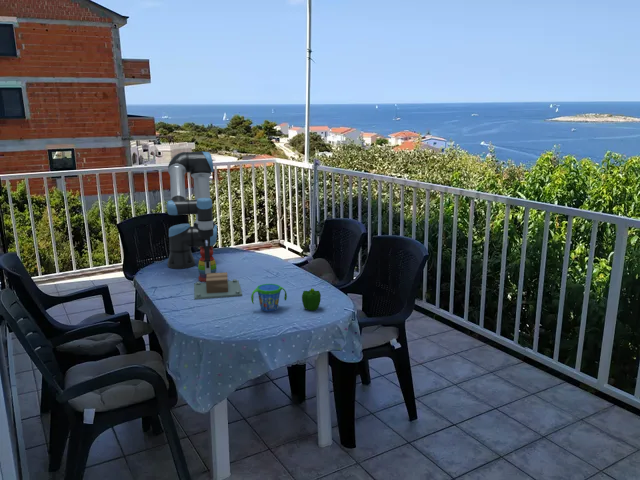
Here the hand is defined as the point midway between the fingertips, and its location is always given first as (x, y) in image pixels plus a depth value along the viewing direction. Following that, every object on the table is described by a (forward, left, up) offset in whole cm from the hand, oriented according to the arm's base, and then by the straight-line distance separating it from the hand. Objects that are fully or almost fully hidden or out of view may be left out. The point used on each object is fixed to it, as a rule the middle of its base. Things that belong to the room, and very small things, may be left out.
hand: (207, 271), depth 270 cm
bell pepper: (+54, +43, -5) cm, 69 cm away
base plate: (+19, +4, -5) cm, 20 cm away
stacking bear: (0, 0, -5) cm, 5 cm away
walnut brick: (+19, +4, -4) cm, 19 cm away
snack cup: (+50, +25, -5) cm, 56 cm away
